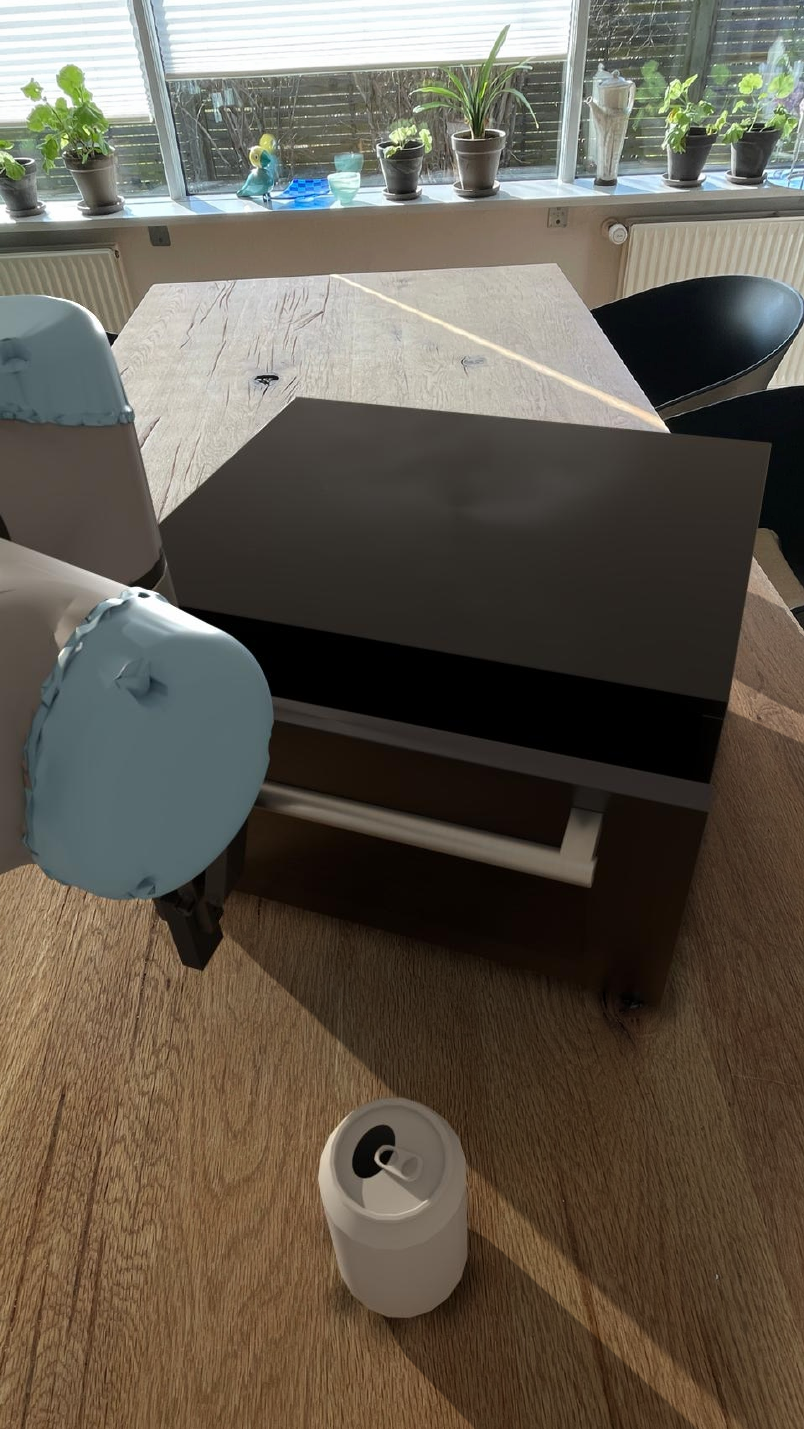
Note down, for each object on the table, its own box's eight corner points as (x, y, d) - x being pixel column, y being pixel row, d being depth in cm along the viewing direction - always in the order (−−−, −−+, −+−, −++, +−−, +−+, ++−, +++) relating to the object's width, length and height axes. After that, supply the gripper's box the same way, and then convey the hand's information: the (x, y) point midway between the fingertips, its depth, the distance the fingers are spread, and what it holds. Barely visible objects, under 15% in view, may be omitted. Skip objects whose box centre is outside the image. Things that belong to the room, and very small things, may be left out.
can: (380, 1160, 58) (365, 1058, 51) (490, 1222, 55) (492, 1124, 48) (312, 1277, 54) (284, 1185, 46) (428, 1352, 51) (419, 1267, 43)
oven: (665, 985, 67) (729, 701, 50) (171, 854, 78) (87, 589, 61) (715, 703, 89) (771, 442, 72) (326, 634, 101) (295, 396, 84)
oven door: (651, 1060, 63) (697, 881, 43) (138, 912, 75) (-15, 716, 55) (665, 985, 66) (714, 784, 46) (169, 854, 78) (35, 647, 58)
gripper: (266, 630, 45) (321, 930, 61) (41, 589, 49) (146, 881, 64) (187, 731, 40) (269, 1031, 55) (-59, 677, 44) (82, 971, 59)
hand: (203, 950), depth 60 cm, fingers closed
